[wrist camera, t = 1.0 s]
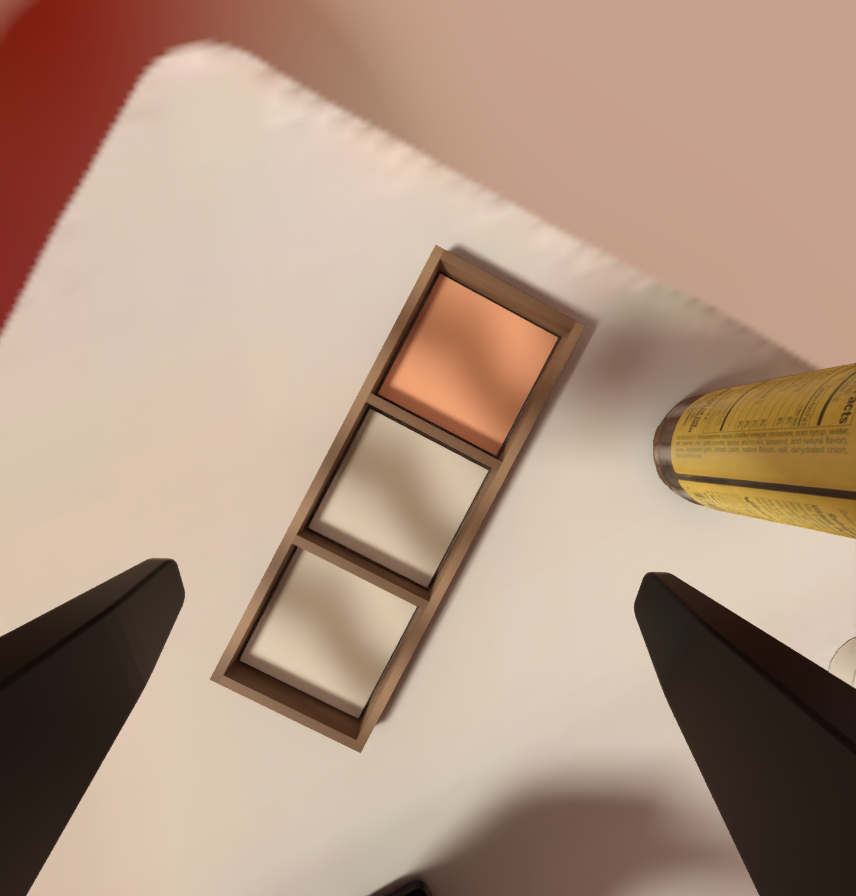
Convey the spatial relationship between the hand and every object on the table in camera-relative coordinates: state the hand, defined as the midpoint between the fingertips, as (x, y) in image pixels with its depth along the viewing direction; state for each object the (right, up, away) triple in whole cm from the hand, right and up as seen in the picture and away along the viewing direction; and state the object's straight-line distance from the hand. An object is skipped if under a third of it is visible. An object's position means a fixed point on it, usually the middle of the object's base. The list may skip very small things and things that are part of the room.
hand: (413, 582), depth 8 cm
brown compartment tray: (-1, 0, +14) cm, 14 cm away
